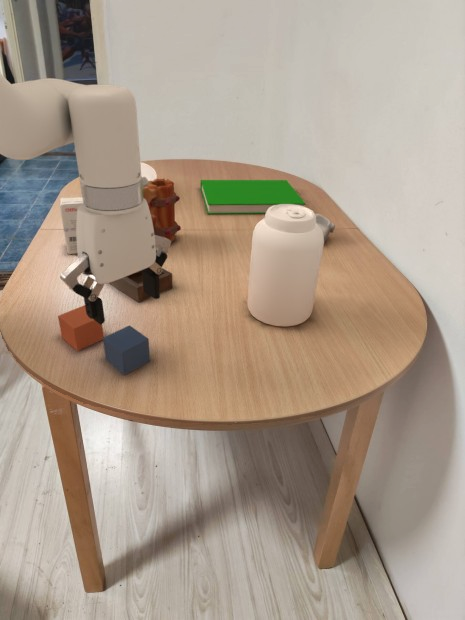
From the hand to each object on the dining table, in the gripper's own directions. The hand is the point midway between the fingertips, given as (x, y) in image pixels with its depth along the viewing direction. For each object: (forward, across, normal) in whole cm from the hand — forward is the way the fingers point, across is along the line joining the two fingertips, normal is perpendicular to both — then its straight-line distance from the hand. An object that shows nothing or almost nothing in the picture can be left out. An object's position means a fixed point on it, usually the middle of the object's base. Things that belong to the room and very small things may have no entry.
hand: (125, 307), depth 67 cm
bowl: (+10, -47, -64) cm, 80 cm away
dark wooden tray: (+10, -16, -21) cm, 28 cm away
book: (+10, -72, -38) cm, 82 cm away
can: (+11, -30, +7) cm, 32 cm away
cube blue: (+10, 0, 0) cm, 10 cm away
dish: (+11, -61, -11) cm, 63 cm away
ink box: (+10, -17, -40) cm, 45 cm away
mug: (+10, -31, -32) cm, 46 cm away
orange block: (+10, +2, -10) cm, 15 cm away
